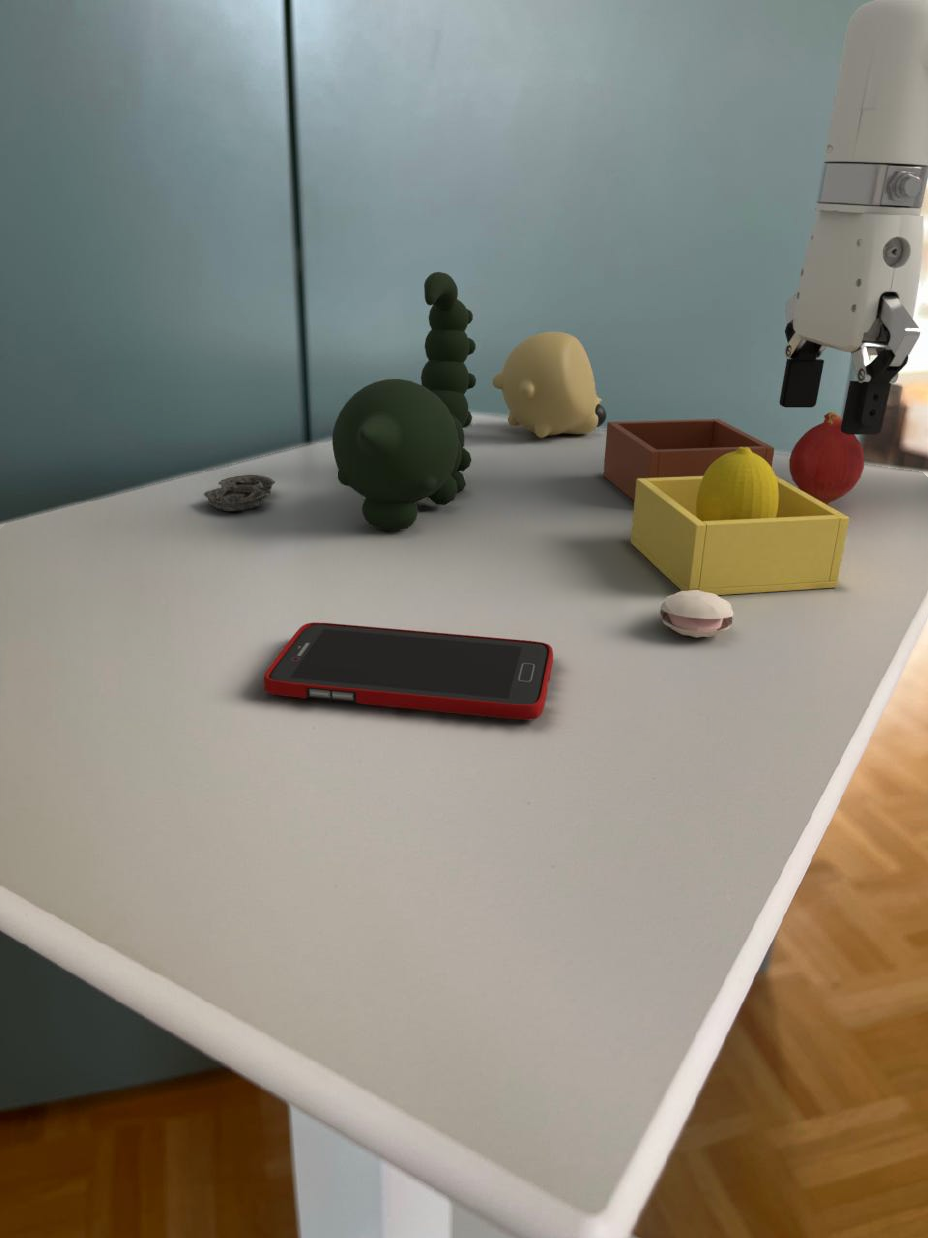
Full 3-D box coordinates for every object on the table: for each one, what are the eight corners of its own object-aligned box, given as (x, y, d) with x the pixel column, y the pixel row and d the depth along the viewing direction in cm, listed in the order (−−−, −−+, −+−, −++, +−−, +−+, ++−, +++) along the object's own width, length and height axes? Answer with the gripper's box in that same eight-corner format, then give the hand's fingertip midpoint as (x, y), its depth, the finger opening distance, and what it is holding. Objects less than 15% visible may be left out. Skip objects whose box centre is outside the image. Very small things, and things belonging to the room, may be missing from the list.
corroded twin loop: (283, 487, 86) (282, 475, 86) (258, 515, 79) (257, 502, 79) (226, 484, 87) (225, 472, 86) (196, 512, 79) (195, 500, 79)
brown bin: (712, 471, 94) (718, 418, 92) (766, 505, 85) (774, 447, 83) (603, 475, 92) (607, 421, 90) (645, 511, 83) (651, 451, 81)
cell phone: (541, 725, 50) (542, 708, 49) (258, 696, 52) (257, 680, 51) (554, 658, 57) (555, 642, 56) (304, 635, 59) (303, 620, 58)
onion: (808, 491, 89) (823, 401, 85) (868, 507, 85) (886, 413, 81) (770, 503, 85) (784, 409, 82) (831, 520, 81) (848, 422, 78)
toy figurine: (399, 482, 95) (299, 545, 72) (403, 270, 89) (295, 264, 65) (497, 490, 93) (426, 558, 70) (508, 274, 87) (434, 270, 64)
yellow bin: (762, 535, 77) (771, 472, 75) (836, 587, 68) (849, 517, 66) (630, 542, 75) (636, 478, 73) (687, 597, 66) (696, 524, 64)
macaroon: (659, 641, 59) (663, 602, 58) (656, 608, 64) (660, 572, 63) (733, 647, 59) (739, 608, 58) (725, 614, 63) (730, 577, 62)
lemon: (675, 548, 73) (687, 440, 70) (739, 540, 75) (754, 434, 71) (718, 574, 68) (733, 460, 65) (786, 565, 70) (804, 453, 67)
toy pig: (574, 476, 105) (642, 402, 105) (515, 398, 97) (588, 318, 98) (523, 451, 112) (586, 383, 113) (465, 377, 105) (532, 303, 105)
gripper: (991, 197, 68) (932, 445, 75) (852, 192, 84) (814, 398, 90) (893, 192, 67) (842, 445, 73) (769, 188, 82) (737, 397, 89)
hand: (826, 419), depth 82 cm, fingers open, 9 cm apart
